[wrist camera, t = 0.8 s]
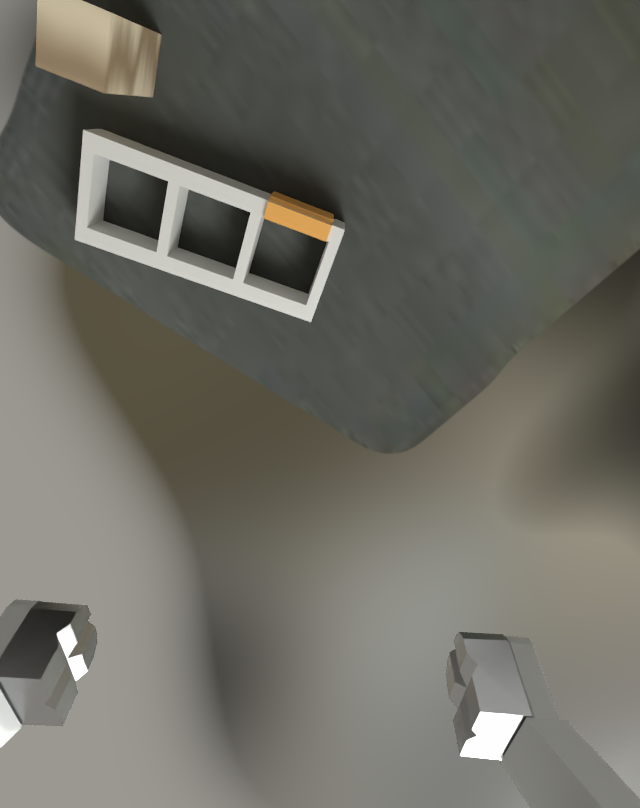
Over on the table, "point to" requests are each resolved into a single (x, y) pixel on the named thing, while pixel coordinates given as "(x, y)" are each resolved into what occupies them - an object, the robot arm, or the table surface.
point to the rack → (165, 250)
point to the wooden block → (96, 48)
